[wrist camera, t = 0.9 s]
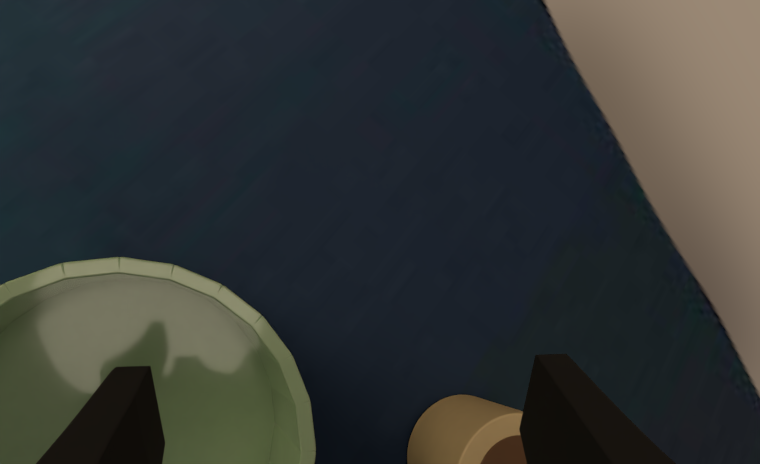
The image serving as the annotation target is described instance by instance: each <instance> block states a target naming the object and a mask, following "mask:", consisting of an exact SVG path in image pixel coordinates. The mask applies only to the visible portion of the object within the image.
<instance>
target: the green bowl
mask: <svg viewBox="0 0 760 464" xmlns="http://www.w3.org/2000/svg"><path fill="white" fill-rule="evenodd" d="M127 366H151V371H152V377H153V382H154V387H155V392H156V397H157V403H158V408H159V413H160V418H161V423H162V428H163V434H164V439H165V448H164V455H163V461H162V464H315V457H316V451H315V450H316V443H315V435H314V426H313V418H312V409H311V402H310V398H309V395H308V393H307V390H306V388H305V385H304V383H303V380H302V378H301V375H300V373H299V370H298V368H297V365H296V363H295V360H294V357H293V356H292V354H291V352H290V351H289V350H288V348H287V347H286V346H285V344H284V343H283V342H282V340H281V339H280V338H279V336H278V335H277V334H276V332H275V331H274V330H273V328H272V327H271V326H270V324H269V323H268V322H267V320H266V319H265V318H264V317H263V316H262V315H261V314H260V313H259V312H258V311H257V310H255V309H254V308H253V307H251V306H250V305H249V304H247V303H246V302H245V301H244V300H242V299H241V298H240V297H238V296H237V295H236V294H234V293H233V292H232V291H231V290H229V289H228V288H227V287H225V286H224V285H222V284H220V283H218V282H216V281H213V280H211V279H208V278H206V277H204V276H201V275H199V274H196V273H194V272H192V271H189V270H187V269H184V268H182V267H180V266H177V265H173V264H168V263H161V262H154V261H147V260H140V259H133V258H126V257H120V258H119V257H111V258H101V259H92V260H82V261H72V262H64V263H59V264H56V265H53V266H51V267H48V268H45V269H42V270H39V271H36V272H34V273H31V274H28V275H25V276H22V277H19V278H17V279H14V280H11V281H8V282H6V283H5V284H2V285H0V464H36V463H37V462H38V461H39V459H40V458H41V457H42V456H43V455H44V454H45V452H46V451H47V450H48V449H49V448H50V447H51V445H52V444H53V443H54V442H55V441H56V439H57V438H58V437H59V436H60V435H61V434H62V432H63V431H64V430H65V429H66V428H67V426H68V425H69V424H70V423H71V421H72V420H73V419H74V418H75V416H76V415H77V414H78V413H79V412H80V410H81V409H82V408H83V407H84V405H85V404H86V403H87V401H88V400H89V399H90V398H91V396H92V395H93V394H94V392H95V391H96V390H97V389H98V387H99V386H100V385H101V383H102V382H103V381H104V380H105V378H106V377H107V376H108V374H109V373H110V372H111V371H112V370H113V369H114V368H115V367H127Z"/></svg>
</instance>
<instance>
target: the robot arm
mask: <svg viewBox="0 0 760 464" xmlns="http://www.w3.org/2000/svg"><path fill="white" fill-rule="evenodd" d="M519 430H520V435H521V439H522V444H523V448H524V453H525V457H526V461H527V464H676V463H675V462H673V461H672V460H671V459H670V458H669V457H668V456H667V455H666V454H665V453H663V452H662V451H661V450H660V449H659V448H658V447H657V446H656V445H655V444H654V443H653V442H652V441H651V440H650V439H649V438H648V437H647V436H646V435H645V434H644V433H643V432H642V431H641V430H640V429H639V428H638V427H637V426H636V425H634V424H633V423H632V422H631V421H630V420H629V419H628V418H627V417H626V416H625V415H624V413H623V412H622V411H621V410H620V409H619V408H618V407H617V406H616V405H615V404H614V403H613V402H612V401H611V400H610V399H609V398H608V397H607V396H606V395H605V394H604V393H603V392H602V391H601V390H600V389H599V388H598V387H597V385H596V384H595V383H594V382H593V381H592V380H591V379H590V378H589V377H588V376H587V375H586V374H585V373H584V372H583V371H582V370H581V369H580V368H579V367H578V365H577V364H576V363H575V362H574V361H573V360H572V359H571V358H570V357H569V356H568V355H567V354H550V355H536V356H535V360H534V365H533V369H532V374H531V378H530V383H529V387H528V392H527V396H526V401H525V405H524V410H523V414H522V419H521V423H520V428H519ZM164 448H165V439H164V434H163V428H162V423H161V418H160V413H159V408H158V403H157V397H156V392H155V387H154V382H153V377H152V371H151V366H127V367H115V368H114V369H113V370H112V371H111V372H110V373H109V374H108V376H107V377H106V378H105V380H104V381H103V382H102V383H101V385H100V386H99V387H98V389H97V390H96V391H95V392H94V394H93V395H92V396H91V398H90V399H89V400H88V401H87V403H86V404H85V405H84V407H83V408H82V409H81V410H80V412H79V413H78V414H77V415H76V416H75V418H74V419H73V420H72V421H71V423H70V424H69V425H68V426H67V428H66V429H65V430H64V431H63V432H62V434H61V435H60V436H59V437H58V438H57V439H56V441H55V442H54V443H53V444H52V445H51V447H50V448H49V449H48V450H47V451H46V452H45V454H44V455H43V456H42V457H41V458H40V459H39V461H38V462H37V463H36V464H162V461H163V455H164Z"/></svg>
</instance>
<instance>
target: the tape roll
mask: <svg viewBox="0 0 760 464" xmlns="http://www.w3.org/2000/svg"><path fill="white" fill-rule="evenodd" d="M522 414H523V411H520V410H517V409H513V408H510V407H507V406H504V405H501V404H498V403H494V402H491V401H488V400H485V399H482V398H478V397H475V396H471V395H453V396H450V397H446V398H444V399H442V400H439V401H438V402H436V403H434V404H433V405H432V406H431V407H429V408H428V409H427V410H426V411H425V412H424V413H423V414H422V416H421V417H420V418H419V420H418V421H417V423H416V425H415V426H414V429H413V431H412V433H411V436H410V440H409V444H408V450H407V464H527V461H526V457H525V453H524V448H523V444H522V439H521V435H520V430H519V428H520V423H521V419H522Z"/></svg>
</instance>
